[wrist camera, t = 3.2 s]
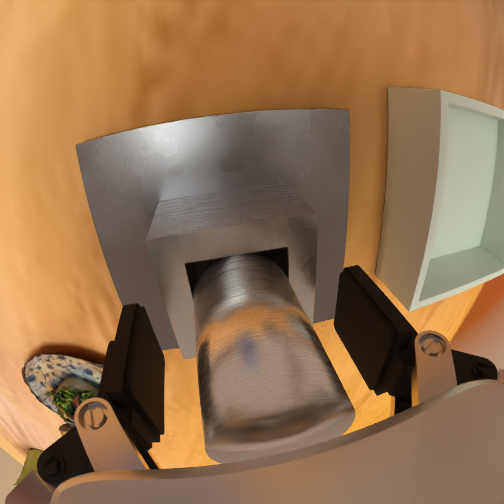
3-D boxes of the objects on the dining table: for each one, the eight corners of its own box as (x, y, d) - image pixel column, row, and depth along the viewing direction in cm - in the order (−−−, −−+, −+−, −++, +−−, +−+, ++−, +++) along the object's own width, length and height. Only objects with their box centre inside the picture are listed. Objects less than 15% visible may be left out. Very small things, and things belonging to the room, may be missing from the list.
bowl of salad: (148, 354, 20) (143, 439, 14) (145, 423, 25) (145, 485, 19) (14, 323, 17) (-20, 392, 10) (42, 401, 22) (29, 457, 15)
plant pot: (13, 436, 25) (5, 480, 17) (65, 454, 28) (60, 501, 20) (29, 456, 29) (23, 494, 21) (74, 471, 32) (72, 511, 24)
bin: (387, 87, 14) (440, 89, 10) (496, 113, 15) (536, 124, 11) (374, 274, 20) (409, 311, 16) (477, 247, 22) (508, 271, 18)
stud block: (82, 142, 12) (38, 160, 8) (340, 109, 14) (394, 115, 10) (144, 342, 19) (139, 398, 15) (332, 309, 21) (361, 356, 17)
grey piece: (159, 201, 14) (109, 395, 4) (284, 183, 15) (427, 327, 5) (183, 302, 17) (192, 485, 7) (286, 285, 18) (365, 446, 8)
